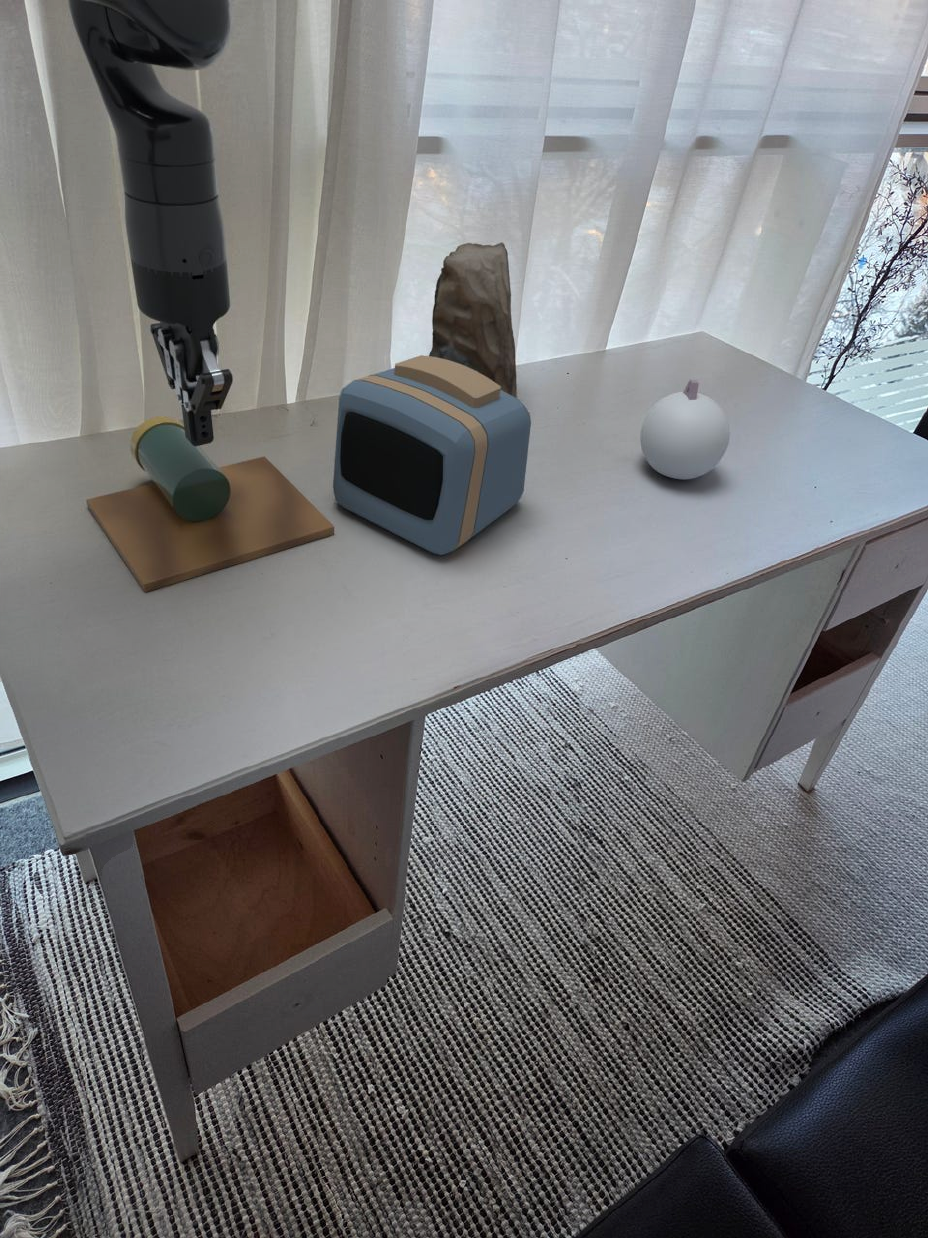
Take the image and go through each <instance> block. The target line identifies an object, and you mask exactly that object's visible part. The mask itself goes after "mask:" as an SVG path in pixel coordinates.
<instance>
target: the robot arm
mask: <svg viewBox="0 0 928 1238" xmlns="http://www.w3.org/2000/svg"><path fill="white" fill-rule="evenodd" d="M67 3H68V8H69V12H70V13H69V14H70V15H71V16H70V17H71V20H72V24H73V27H74V30H75V32H76V35H77V38H78V41H79V44H80V45H81V49H82V51H83V53H84V56H85V57H86V60H87V63H88V65H89V68H90V71H91V73H92V75H93V78H94V81H95V83H96V86H97V89H98V92H99V94H100V97H101V100H102V102H103V105H104V107H105V109H106V112H107V116H108V117H109V120H110V122H111V124H112V129H113V131H114V134H115V139H116V147H117V152H118V159H119V166H120V172H121V180H122V186H123V187H122V188H123V195H124V222H125V230H126V236H127V244H128V248H129V249H128V250H129V255H130V264H131V269H132V276H133V282H134V290H135V296H136V297H135V298H136V303H137V307H138V309H139V310H140V312H141V313H142V314H143V315H144V316H146V317H147V318H148V319H151V320H154V321H156V322H155V323H151V324H150V326H149V327H150V329H149V330H150V333H151V335H152V339H153V341H154V344H155V347H156V350H157V352H158V353H157V354H158V355H159V359H160V362H161V365H162V368H163V371H164V374H165V376H166V379H167V384H168V386H169V388H170V389H171V390H175V393H176V394H175V397H176V399H177V401H178V404H180V405H181V414H182V420H183V421H182V423H183V425H184V430H185V437H186V438H187V439H188V441H189V442H190V443H191V444H192V445H193V446H200V447H201V446H204V445H208V444H211V443H213V441H214V438H215V436H214V435H215V434H214V425H213V418H212V417H213V416H212V411H214V410H216V411H218V410H221V409H222V408H223V406H224V404H225V402H226V399H227V397H228V395H229V391H230V389H231V387H232V384H233V381H234V380H233V379H234V377H233V374H232V372H231V370H230V369H229V368H225V369H221V368H220V366H219V364H218V356H219V354H220V343H219V339H218V336H217V334H216V333H215V329H214V325H215V323H216V322H217V321H218V320H219V319H221V318H223V317H224V316H226V315H227V313H228V312H229V310H230V307H231V298H230V297H231V296H230V285H229V274H228V273H229V271H228V259H227V247H226V246H227V245H226V235H225V234H226V233H225V224H224V219H223V213H222V209H221V203H220V197H219V186H218V174H217V162H216V160H217V159H216V151H215V139H214V133H213V126H212V124H211V122H210V119H209V118H208V117H207V115H206V114H205V113H204V112H203V111H202V110H201V109H198V108H197V107H195V106H193V105H190V104H188V103H187V102H184V101H182V100H180V99H178V98H176V97H175V96H173V95H172V94H170V93H169V92H168V91H166V89H165V88H164V87H163V85H162V83H161V81H160V79H159V78H158V76H157V74H156V72H155V69H154V67H153V66H158V67H159V66H160V67H165V68H170V69H176V70H182V71H200V70H204V69H207V68H209V67H211V66H212V65H214V64H215V63H217V62H218V61H219V59H221V58H222V56H223V55H224V53H225V51H226V49H227V48H228V45H229V41H230V37H231V32H232V10H231V3H230V0H67Z"/></svg>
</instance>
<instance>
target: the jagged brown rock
mask: <svg viewBox="0 0 928 1238" xmlns="http://www.w3.org/2000/svg"><path fill="white" fill-rule="evenodd" d="M509 268H510V265H509V253H508V249H507V248H506V244H505V243H504V242H502V241H501V242H499V243H497V244H494V245H493V244H481V243H477V242H475V243H472V242H466V243H463V244H459V245H458V246H457V247H456V249H455V251H451V252H450V253H449V255H446V256H445V257H444V259H443V263H442V267H441V268H440V269H441V270H440V274H439V277H438V278H437V281H436V284H435V291H434V304H433V308H432V318H431V323H432V325H431V326H432V344H431V345H432V346H431V349H430V352H429V354H428V356H432V357H437V358H442V359H446V360H450V361H453V362H456V363H459V364H462V365H464V366H466V367H468V368H471V369H473V370H475V371H477V372H479V373H480V374H482V375H484V376H486V377H487V378H489V379H490V380H492V381H493V382H495V383H496V384H498V385H499V386H501V390H502V391H504V392H506V393H508V394H509V395H511V396H513V397H515V398H517V399H518V397H517V395H518V394H517V392H518V390H517V389H518V388H517V364H516V363H517V362H516V344H515V342H516V341H515V337H514V330H513V322H512V321H513V320H512V290H511V288H512V287H511V277H510V269H509Z"/></svg>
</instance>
